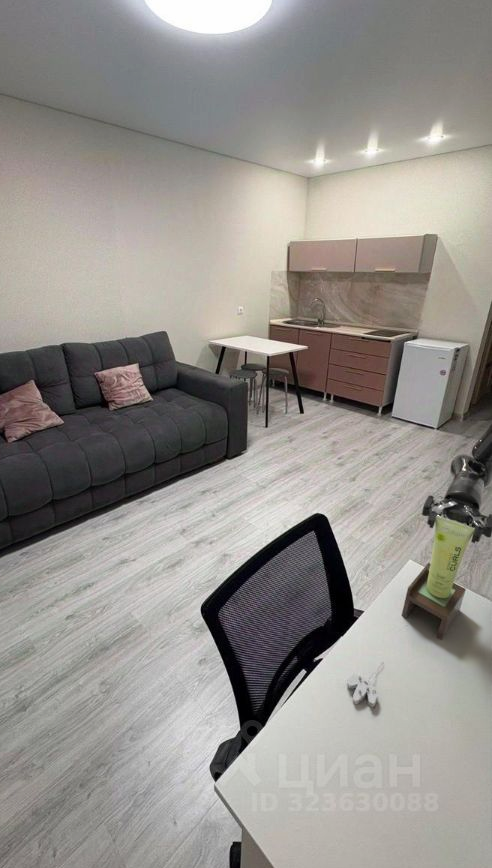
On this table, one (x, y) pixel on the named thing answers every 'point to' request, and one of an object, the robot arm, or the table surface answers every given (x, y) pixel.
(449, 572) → the tube
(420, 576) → the wooden display stand
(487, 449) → the robot arm
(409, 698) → the table surface
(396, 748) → the table surface
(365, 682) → the white lobed piece
